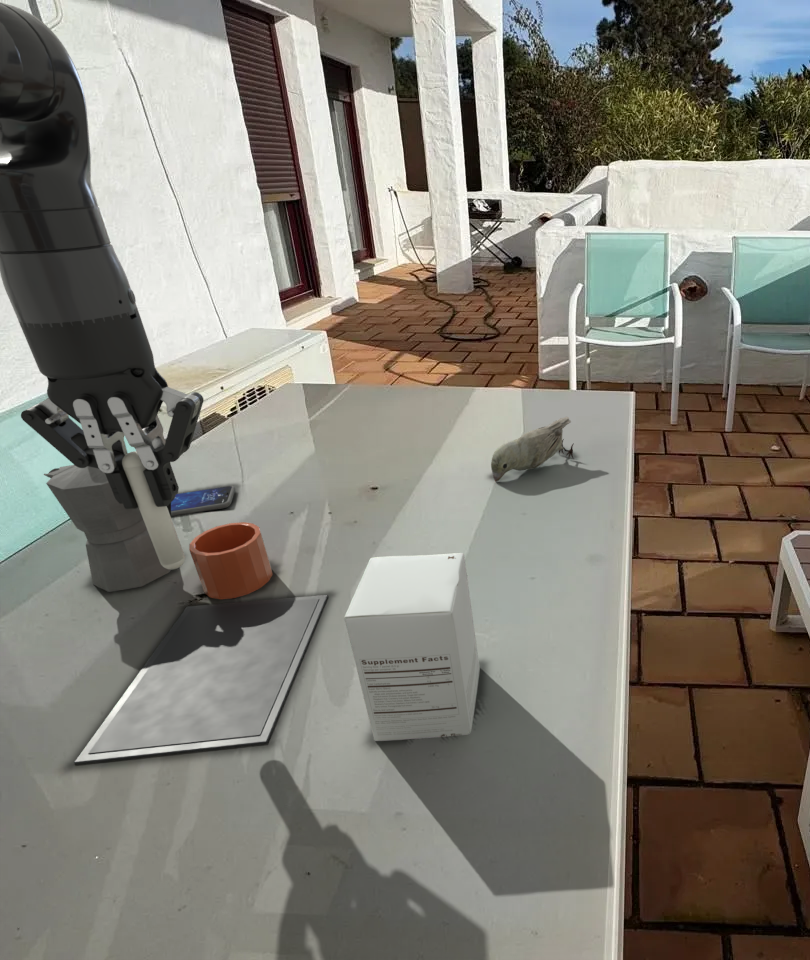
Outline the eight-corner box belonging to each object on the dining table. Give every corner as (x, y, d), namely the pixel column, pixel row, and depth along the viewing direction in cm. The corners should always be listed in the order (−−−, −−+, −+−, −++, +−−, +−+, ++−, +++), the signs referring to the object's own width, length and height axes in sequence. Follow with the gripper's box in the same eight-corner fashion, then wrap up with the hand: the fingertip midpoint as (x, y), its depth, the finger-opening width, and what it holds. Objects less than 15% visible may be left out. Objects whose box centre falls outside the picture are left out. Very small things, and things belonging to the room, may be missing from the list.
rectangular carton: (394, 676, 65) (368, 554, 59) (481, 671, 66) (466, 549, 59) (372, 748, 57) (339, 616, 51) (472, 742, 58) (453, 610, 51)
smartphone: (128, 500, 99) (235, 483, 103) (130, 505, 99) (236, 489, 104) (114, 521, 92) (228, 503, 97) (116, 527, 93) (230, 508, 98)
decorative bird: (485, 477, 107) (481, 436, 104) (560, 451, 117) (558, 413, 113) (503, 487, 103) (499, 445, 100) (578, 460, 113) (578, 421, 110)
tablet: (77, 770, 55) (72, 761, 55) (189, 613, 75) (186, 605, 75) (269, 749, 57) (266, 740, 57) (329, 601, 77) (327, 593, 76)
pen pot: (195, 606, 76) (177, 557, 73) (220, 570, 83) (205, 524, 80) (261, 601, 77) (247, 552, 74) (281, 566, 84) (268, 520, 81)
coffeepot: (60, 595, 78) (-3, 463, 70) (118, 553, 87) (68, 431, 79) (177, 601, 77) (126, 467, 69) (225, 558, 86) (184, 434, 78)
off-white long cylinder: (159, 574, 59) (113, 457, 54) (169, 562, 61) (125, 448, 56) (182, 572, 59) (139, 456, 54) (191, 560, 61) (150, 446, 56)
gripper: (-58, 323, 45) (41, 532, 53) (150, 314, 47) (217, 517, 55) (13, 303, 52) (92, 491, 60) (193, 296, 54) (247, 479, 61)
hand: (151, 503), depth 57 cm, fingers closed on off-white long cylinder, 2 cm apart
